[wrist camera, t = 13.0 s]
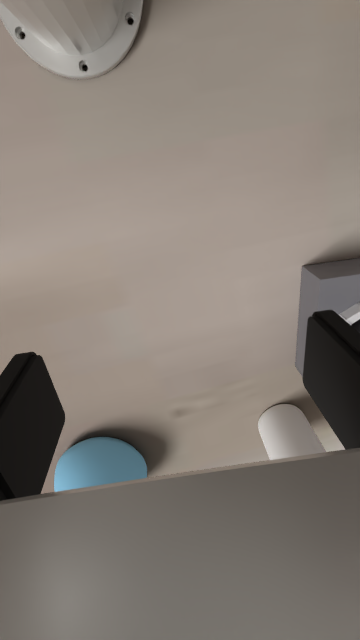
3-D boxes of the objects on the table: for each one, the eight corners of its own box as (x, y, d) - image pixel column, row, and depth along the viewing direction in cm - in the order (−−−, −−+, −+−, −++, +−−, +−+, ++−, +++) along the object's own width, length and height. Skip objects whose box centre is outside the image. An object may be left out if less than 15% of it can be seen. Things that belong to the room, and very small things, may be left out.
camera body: (302, 266, 40) (327, 284, 34) (394, 253, 40) (434, 269, 34) (295, 366, 47) (315, 395, 42) (372, 355, 47) (403, 382, 42)
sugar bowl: (163, 450, 54) (165, 519, 44) (120, 497, 59) (113, 568, 49) (84, 418, 49) (66, 486, 39) (45, 472, 54) (19, 545, 44)
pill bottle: (311, 406, 52) (365, 492, 38) (290, 439, 55) (333, 529, 42) (268, 398, 50) (309, 484, 37) (249, 432, 54) (280, 523, 40)
